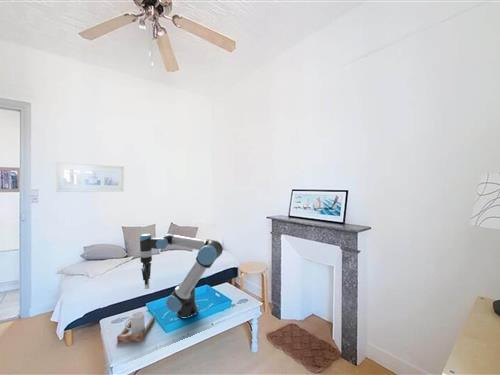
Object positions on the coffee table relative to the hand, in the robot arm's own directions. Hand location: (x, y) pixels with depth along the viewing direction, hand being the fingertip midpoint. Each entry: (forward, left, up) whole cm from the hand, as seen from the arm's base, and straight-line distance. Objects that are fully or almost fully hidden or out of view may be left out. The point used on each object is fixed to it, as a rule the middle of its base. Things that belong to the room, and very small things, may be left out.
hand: (147, 288), depth 183 cm
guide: (+2, +13, -22) cm, 26 cm away
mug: (+2, +16, -23) cm, 28 cm away
